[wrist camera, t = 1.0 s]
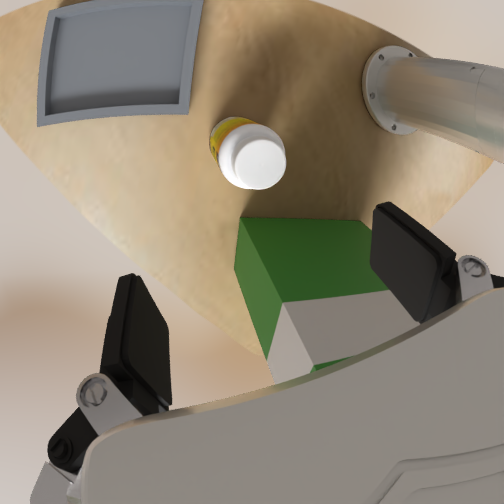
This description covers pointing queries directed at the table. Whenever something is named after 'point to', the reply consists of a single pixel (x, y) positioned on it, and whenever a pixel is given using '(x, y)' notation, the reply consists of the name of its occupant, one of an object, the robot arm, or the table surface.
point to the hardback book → (313, 292)
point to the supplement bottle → (248, 153)
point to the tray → (117, 59)
